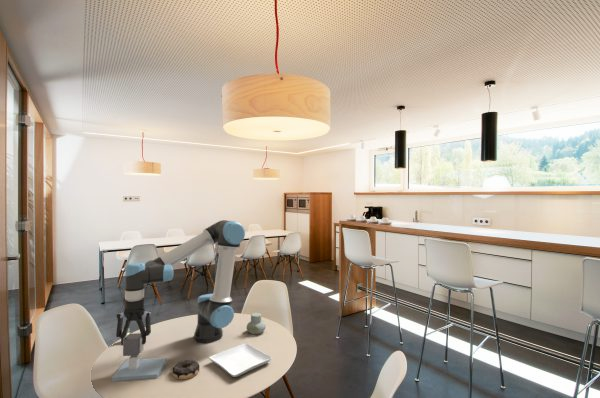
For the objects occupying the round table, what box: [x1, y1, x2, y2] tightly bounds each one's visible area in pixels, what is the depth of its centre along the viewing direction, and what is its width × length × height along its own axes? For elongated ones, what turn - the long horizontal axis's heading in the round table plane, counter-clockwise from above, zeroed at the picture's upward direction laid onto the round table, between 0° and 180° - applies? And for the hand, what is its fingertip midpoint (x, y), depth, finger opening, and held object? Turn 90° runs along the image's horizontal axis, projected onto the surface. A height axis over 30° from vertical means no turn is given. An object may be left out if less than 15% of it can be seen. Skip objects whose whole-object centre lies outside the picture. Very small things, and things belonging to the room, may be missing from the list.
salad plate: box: [208, 343, 272, 378], centre depth 140 cm, size 21×21×3 cm
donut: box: [171, 358, 200, 380], centre depth 132 cm, size 11×12×4 cm
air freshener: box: [245, 312, 267, 335], centre depth 175 cm, size 11×8×10 cm
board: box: [111, 354, 168, 382], centre depth 134 cm, size 18×14×6 cm
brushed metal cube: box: [122, 332, 141, 357], centre depth 134 cm, size 6×6×7 cm
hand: (133, 351), depth 134 cm, fingers closed on brushed metal cube, 6 cm apart
